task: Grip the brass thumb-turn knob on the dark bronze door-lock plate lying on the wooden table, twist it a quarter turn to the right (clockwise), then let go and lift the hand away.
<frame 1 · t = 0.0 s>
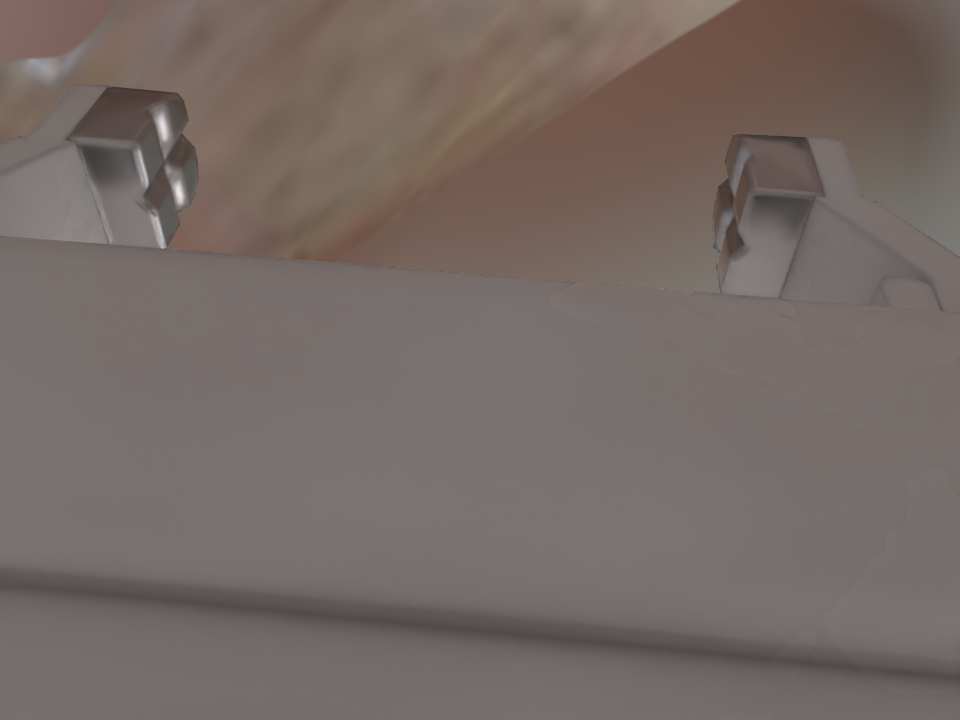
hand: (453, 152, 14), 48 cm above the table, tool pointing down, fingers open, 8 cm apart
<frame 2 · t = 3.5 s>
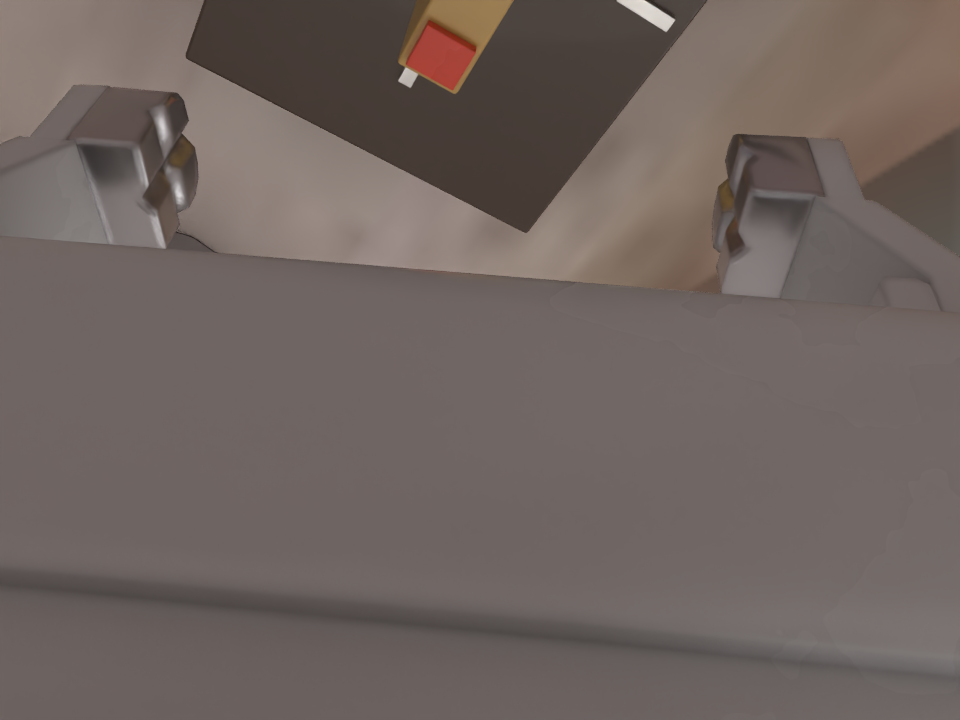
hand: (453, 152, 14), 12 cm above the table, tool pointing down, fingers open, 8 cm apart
cup: (158, 309, 33), on the table
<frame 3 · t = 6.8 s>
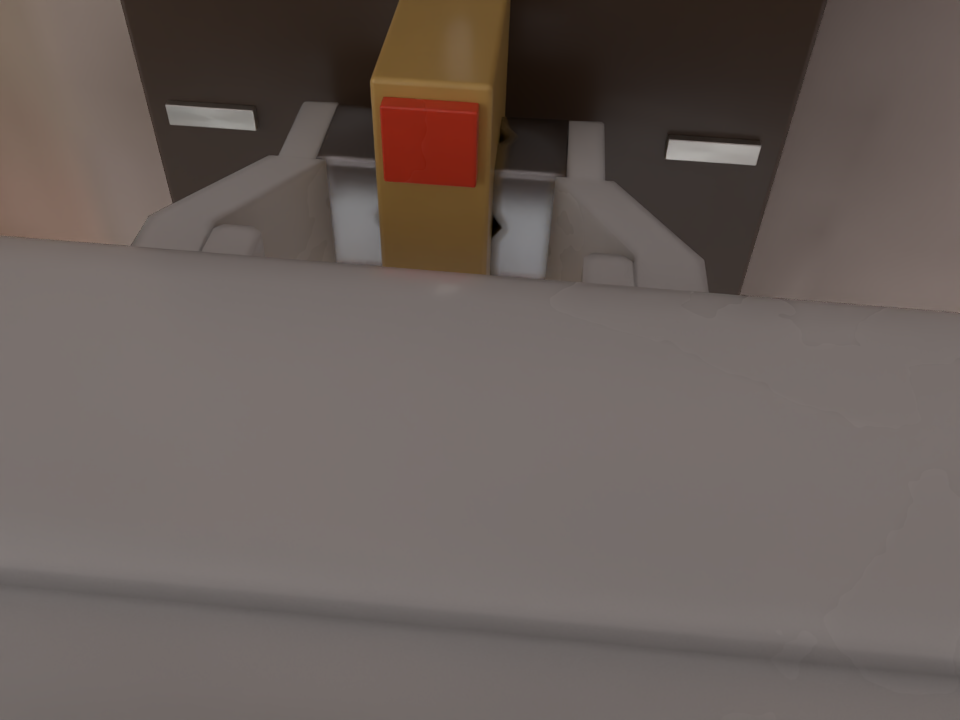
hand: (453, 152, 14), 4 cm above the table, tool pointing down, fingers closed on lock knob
lock plate: (477, 42, 16), on the table
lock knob: (446, 194, 13), point 5 cm above the table, hinge at 0.0°, touching gripper
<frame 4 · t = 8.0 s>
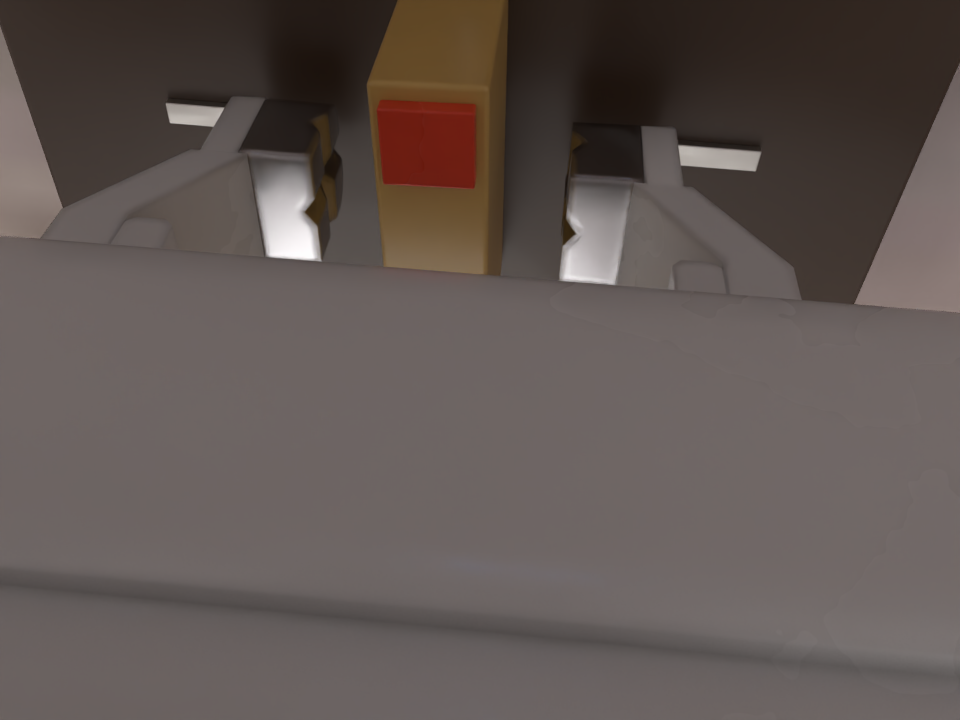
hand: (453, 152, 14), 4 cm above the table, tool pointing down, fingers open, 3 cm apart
lock plate: (478, 44, 16), on the table
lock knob: (447, 196, 13), point 5 cm above the table, hinge at -87.9°
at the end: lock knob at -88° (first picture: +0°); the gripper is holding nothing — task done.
